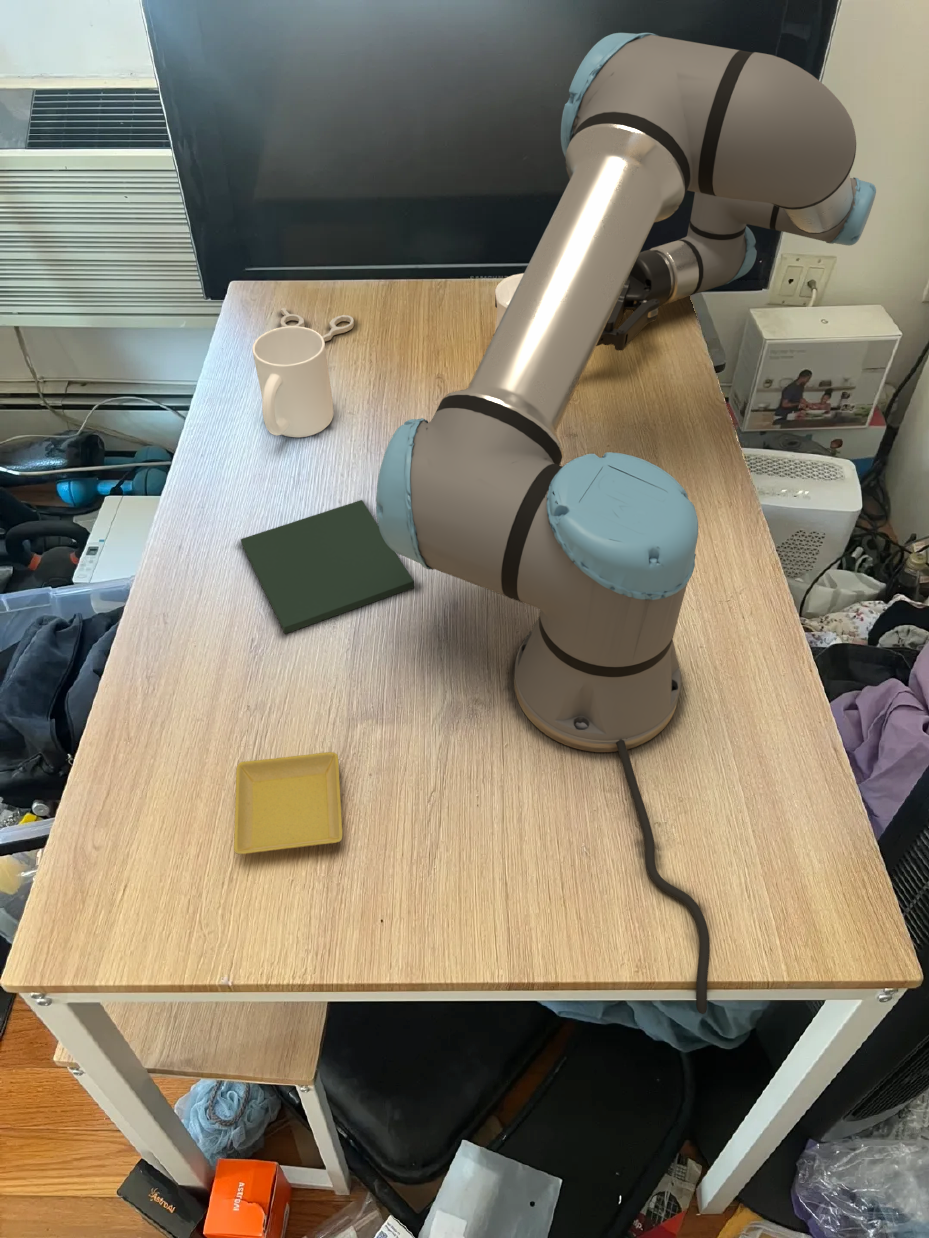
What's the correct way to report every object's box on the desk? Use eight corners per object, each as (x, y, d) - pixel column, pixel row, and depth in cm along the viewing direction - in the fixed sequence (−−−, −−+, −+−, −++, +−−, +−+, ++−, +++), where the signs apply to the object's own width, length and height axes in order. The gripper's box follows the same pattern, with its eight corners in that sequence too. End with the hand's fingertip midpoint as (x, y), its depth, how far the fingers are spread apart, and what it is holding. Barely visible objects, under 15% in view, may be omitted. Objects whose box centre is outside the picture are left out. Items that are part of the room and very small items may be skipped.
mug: (305, 464, 107) (292, 390, 99) (241, 451, 109) (224, 376, 101) (344, 405, 114) (335, 332, 107) (284, 394, 116) (271, 321, 108)
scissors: (356, 309, 128) (334, 392, 115) (356, 314, 128) (335, 397, 115) (281, 307, 128) (251, 389, 115) (282, 312, 129) (252, 395, 116)
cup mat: (414, 587, 94) (414, 581, 93) (284, 634, 90) (283, 627, 89) (362, 506, 102) (361, 499, 101) (242, 545, 98) (240, 538, 97)
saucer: (340, 763, 80) (338, 749, 78) (345, 853, 74) (342, 840, 73) (240, 774, 79) (236, 761, 78) (238, 866, 73) (233, 854, 72)
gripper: (712, 345, 119) (580, 396, 112) (597, 265, 133) (474, 305, 126) (724, 292, 114) (586, 342, 106) (602, 214, 128) (474, 253, 121)
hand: (525, 322), depth 116 cm, fingers open, 13 cm apart
